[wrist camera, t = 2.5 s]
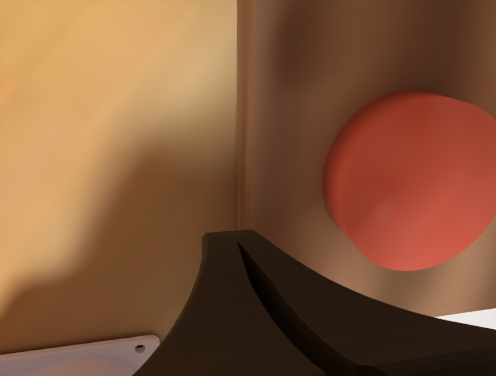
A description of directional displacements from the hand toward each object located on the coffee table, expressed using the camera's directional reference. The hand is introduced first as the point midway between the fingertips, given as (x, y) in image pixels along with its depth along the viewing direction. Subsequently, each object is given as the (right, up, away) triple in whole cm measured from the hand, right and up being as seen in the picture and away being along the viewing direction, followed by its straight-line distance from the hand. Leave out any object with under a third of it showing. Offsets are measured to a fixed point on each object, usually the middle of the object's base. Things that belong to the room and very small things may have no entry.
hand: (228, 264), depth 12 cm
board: (+7, +4, +10) cm, 13 cm away
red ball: (+7, +3, +7) cm, 10 cm away
